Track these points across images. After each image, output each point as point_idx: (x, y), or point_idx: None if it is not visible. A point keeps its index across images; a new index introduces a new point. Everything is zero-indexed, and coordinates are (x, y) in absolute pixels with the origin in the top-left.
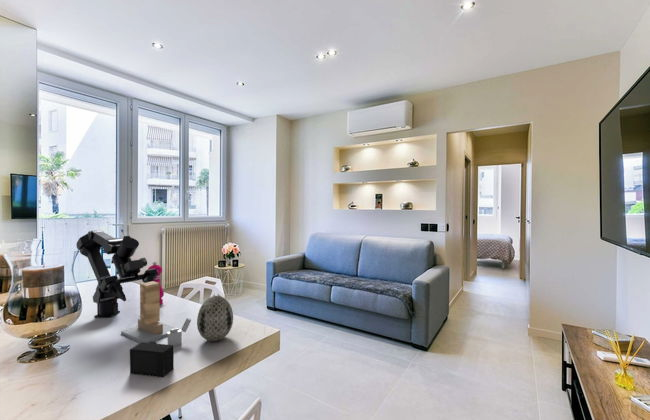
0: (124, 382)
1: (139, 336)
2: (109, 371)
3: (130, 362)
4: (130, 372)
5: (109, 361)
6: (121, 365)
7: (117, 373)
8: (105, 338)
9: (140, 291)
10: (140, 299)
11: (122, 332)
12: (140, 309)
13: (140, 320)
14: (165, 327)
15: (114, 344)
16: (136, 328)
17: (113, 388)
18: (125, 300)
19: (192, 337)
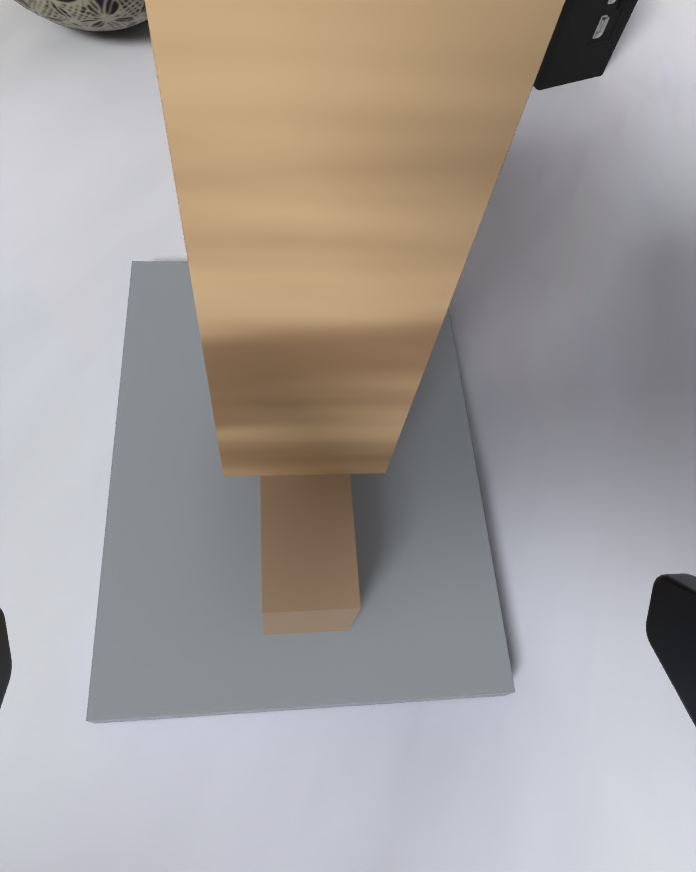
0: (635, 42)
1: (430, 386)
2: (678, 157)
3: (628, 14)
4: (603, 67)
5: (667, 250)
6: (619, 164)
7: (648, 116)
8: (651, 705)
9: (514, 106)
10: (460, 258)
11: (506, 656)
12: (418, 375)
13: (389, 456)
14: (174, 385)
15: (604, 476)
16: (370, 618)
17: (678, 40)
18: (663, 595)
19: (156, 131)
